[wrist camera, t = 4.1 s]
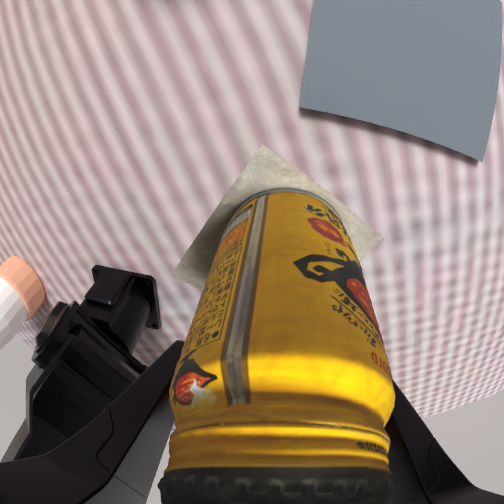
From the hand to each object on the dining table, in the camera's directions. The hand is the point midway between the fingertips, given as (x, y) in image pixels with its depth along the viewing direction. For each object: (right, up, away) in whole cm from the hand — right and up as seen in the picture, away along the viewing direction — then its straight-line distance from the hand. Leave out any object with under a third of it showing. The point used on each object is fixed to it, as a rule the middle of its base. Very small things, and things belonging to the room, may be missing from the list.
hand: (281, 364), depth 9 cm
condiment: (0, +4, +6) cm, 7 cm away
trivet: (+10, +17, +3) cm, 20 cm away
